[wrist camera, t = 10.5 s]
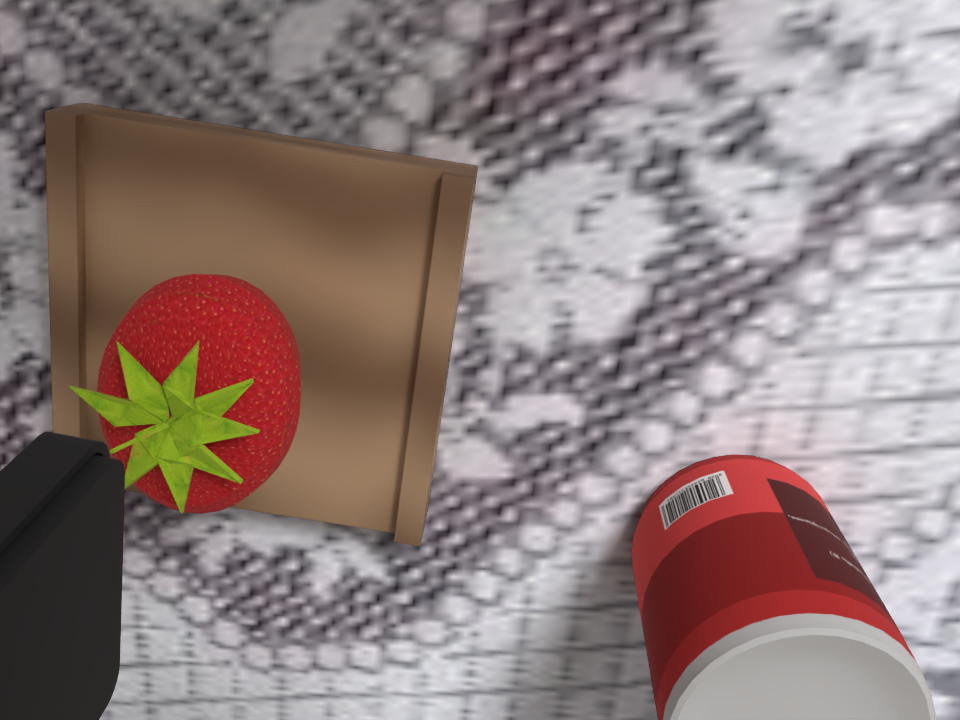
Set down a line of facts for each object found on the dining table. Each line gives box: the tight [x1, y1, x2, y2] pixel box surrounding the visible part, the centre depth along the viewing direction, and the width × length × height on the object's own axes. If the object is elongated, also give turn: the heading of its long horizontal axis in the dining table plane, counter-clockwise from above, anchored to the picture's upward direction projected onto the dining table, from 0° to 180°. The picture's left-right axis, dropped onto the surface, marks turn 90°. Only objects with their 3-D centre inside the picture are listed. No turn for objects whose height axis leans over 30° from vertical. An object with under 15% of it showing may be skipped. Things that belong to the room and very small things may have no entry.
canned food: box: [632, 455, 935, 720], centre depth 32 cm, size 8×8×11 cm
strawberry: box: [69, 274, 301, 514], centre depth 28 cm, size 6×8×10 cm
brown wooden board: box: [45, 103, 478, 546], centre depth 33 cm, size 14×14×3 cm
